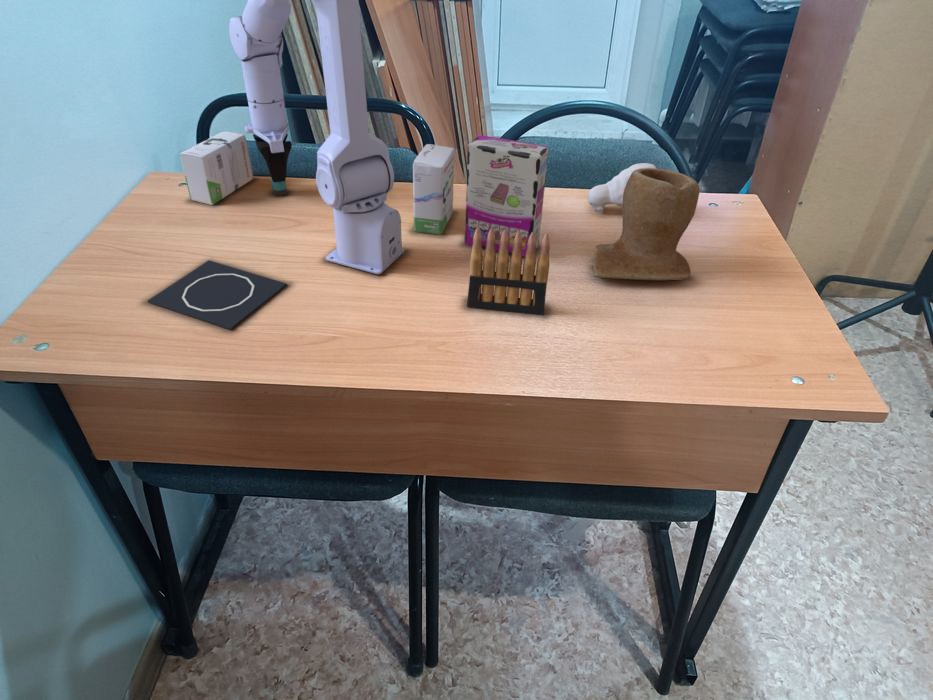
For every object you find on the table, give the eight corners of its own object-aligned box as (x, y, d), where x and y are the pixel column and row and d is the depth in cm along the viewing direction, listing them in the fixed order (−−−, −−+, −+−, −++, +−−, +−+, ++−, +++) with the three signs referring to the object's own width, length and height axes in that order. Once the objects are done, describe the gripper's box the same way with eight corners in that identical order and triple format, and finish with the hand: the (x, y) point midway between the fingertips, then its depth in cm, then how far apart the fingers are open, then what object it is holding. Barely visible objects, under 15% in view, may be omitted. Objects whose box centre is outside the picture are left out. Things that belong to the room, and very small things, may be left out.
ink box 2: (442, 235, 105) (443, 166, 98) (412, 231, 106) (411, 162, 99) (453, 212, 112) (455, 145, 105) (426, 209, 113) (425, 142, 105)
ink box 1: (189, 200, 112) (231, 176, 121) (214, 205, 111) (254, 180, 120) (178, 151, 107) (222, 129, 116) (203, 156, 105) (246, 134, 114)
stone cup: (675, 250, 104) (698, 160, 95) (695, 290, 95) (723, 195, 86) (581, 247, 104) (595, 156, 95) (592, 287, 95) (609, 191, 85)
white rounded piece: (665, 171, 107) (593, 176, 107) (659, 218, 112) (590, 223, 112) (656, 156, 112) (586, 161, 112) (650, 202, 117) (583, 206, 117)
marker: (290, 191, 116) (282, 142, 110) (281, 197, 114) (274, 147, 109) (279, 189, 117) (271, 140, 111) (270, 194, 115) (262, 144, 109)
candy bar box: (539, 245, 104) (551, 145, 94) (529, 260, 100) (541, 157, 90) (474, 231, 107) (479, 132, 97) (463, 244, 103) (466, 143, 93)
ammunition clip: (466, 307, 90) (469, 229, 82) (468, 299, 91) (471, 222, 84) (544, 315, 89) (554, 237, 81) (544, 307, 90) (554, 230, 83)
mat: (287, 285, 92) (286, 283, 92) (230, 330, 84) (230, 328, 84) (209, 261, 97) (208, 259, 96) (147, 302, 88) (147, 300, 88)
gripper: (235, 86, 109) (249, 164, 118) (245, 115, 99) (259, 197, 107) (278, 83, 111) (289, 159, 120) (292, 111, 101) (302, 192, 109)
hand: (278, 177), depth 114 cm, fingers closed on marker, 2 cm apart
